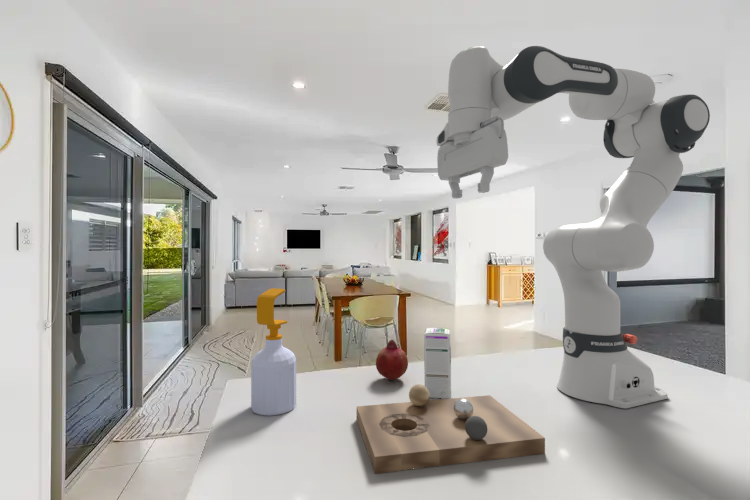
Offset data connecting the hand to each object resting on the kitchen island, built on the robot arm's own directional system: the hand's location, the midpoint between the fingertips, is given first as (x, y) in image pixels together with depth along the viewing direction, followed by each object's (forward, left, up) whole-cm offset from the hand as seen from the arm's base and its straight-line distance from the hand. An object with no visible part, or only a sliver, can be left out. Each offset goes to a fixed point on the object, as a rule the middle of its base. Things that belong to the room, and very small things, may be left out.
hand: (469, 195), depth 79 cm
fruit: (+12, -18, -44) cm, 49 cm away
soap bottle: (+40, -7, -44) cm, 60 cm away
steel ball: (+6, +11, -40) cm, 42 cm away
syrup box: (+4, -7, -44) cm, 45 cm away
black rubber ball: (+7, +18, -40) cm, 44 cm away
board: (+10, +11, -44) cm, 46 cm away
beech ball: (+12, +4, -40) cm, 42 cm away
